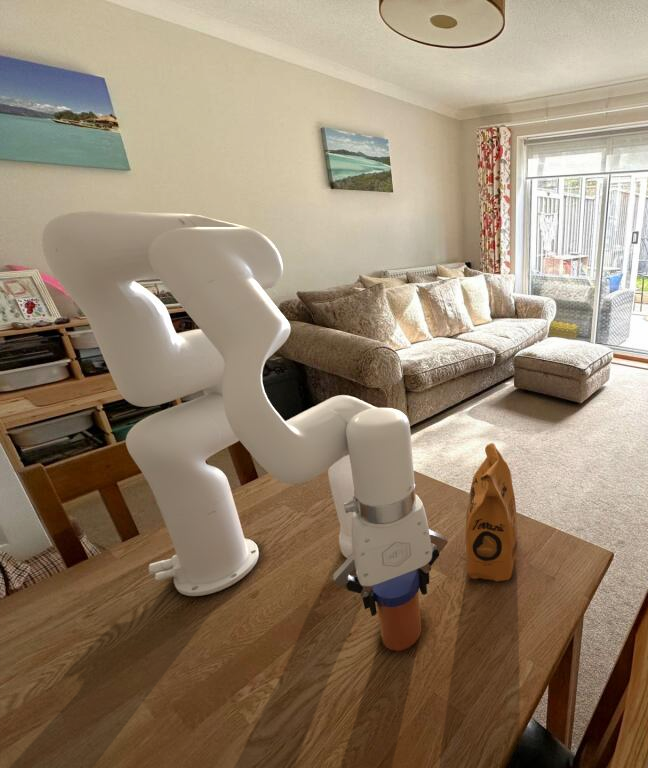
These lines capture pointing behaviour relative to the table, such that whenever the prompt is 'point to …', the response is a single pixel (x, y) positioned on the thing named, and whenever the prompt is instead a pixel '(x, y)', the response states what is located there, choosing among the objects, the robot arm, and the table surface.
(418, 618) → the jar
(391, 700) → the table surface
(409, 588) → the lid
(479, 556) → the coffee package
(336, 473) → the bottle
